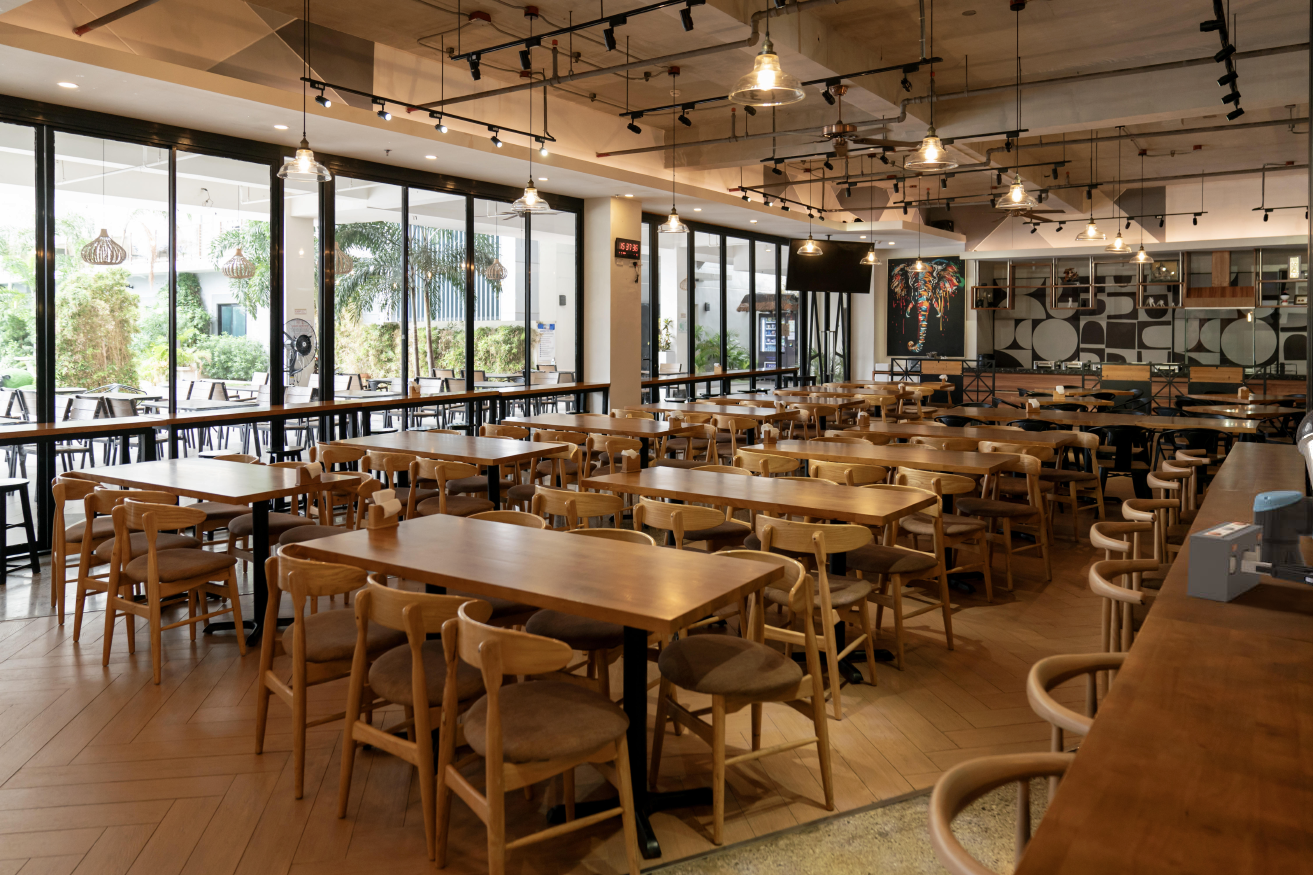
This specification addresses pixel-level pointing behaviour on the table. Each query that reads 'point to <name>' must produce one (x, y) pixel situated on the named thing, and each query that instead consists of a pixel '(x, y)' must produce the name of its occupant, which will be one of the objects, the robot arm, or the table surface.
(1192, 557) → the button panel
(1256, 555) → the button middle
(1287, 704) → the table surface
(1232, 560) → the button
